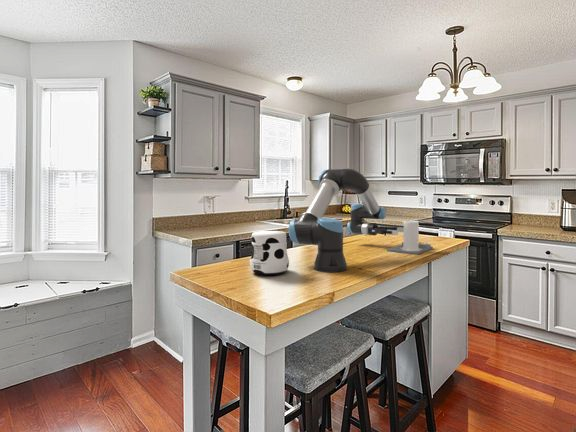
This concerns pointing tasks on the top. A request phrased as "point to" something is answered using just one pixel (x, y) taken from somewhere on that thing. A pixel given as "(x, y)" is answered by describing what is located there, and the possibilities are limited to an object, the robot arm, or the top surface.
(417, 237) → the cup
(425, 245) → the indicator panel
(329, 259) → the robot arm
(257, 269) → the milk container
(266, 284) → the top surface
